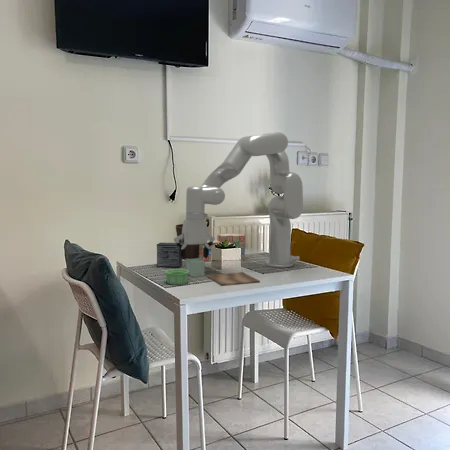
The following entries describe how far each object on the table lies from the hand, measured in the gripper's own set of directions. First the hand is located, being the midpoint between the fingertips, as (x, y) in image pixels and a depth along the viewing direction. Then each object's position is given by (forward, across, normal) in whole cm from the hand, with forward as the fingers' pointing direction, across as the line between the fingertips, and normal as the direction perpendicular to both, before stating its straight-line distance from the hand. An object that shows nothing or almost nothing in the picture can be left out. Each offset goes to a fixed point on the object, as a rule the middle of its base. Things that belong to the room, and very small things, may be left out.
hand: (194, 257), depth 188 cm
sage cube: (+7, -1, 0) cm, 7 cm away
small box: (+7, +5, -18) cm, 20 cm away
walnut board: (+7, -12, +14) cm, 19 cm away
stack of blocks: (+7, -22, -24) cm, 34 cm away
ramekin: (+7, +10, +11) cm, 17 cm away
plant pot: (+7, -10, -34) cm, 36 cm away
